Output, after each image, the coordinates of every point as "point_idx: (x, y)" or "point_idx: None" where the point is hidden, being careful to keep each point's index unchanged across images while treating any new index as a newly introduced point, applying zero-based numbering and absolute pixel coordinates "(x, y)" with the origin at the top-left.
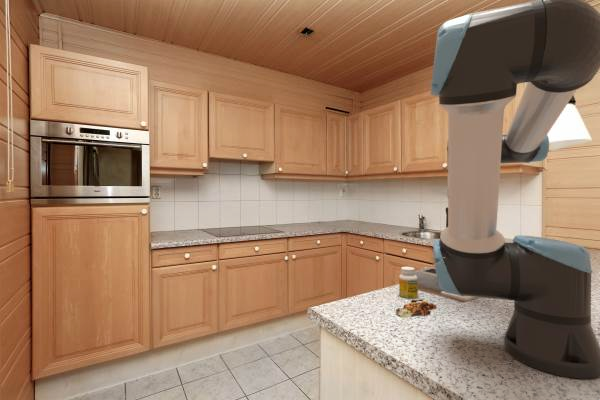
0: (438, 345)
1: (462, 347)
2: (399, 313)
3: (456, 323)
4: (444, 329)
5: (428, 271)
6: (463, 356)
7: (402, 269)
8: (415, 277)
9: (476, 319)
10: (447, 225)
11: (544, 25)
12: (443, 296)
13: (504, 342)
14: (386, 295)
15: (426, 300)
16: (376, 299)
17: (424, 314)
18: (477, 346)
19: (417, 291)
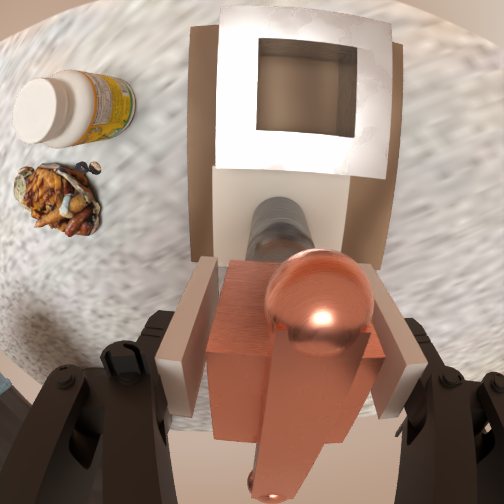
0: (15, 304)
1: (38, 329)
2: (14, 191)
3: (84, 292)
4: (48, 288)
5: (312, 44)
6: (28, 335)
7: (15, 107)
8: (58, 146)
9: (138, 313)
10: (7, 490)
11: None
12: (194, 187)
13: (86, 372)
14: (85, 47)
15: (66, 214)
16: (42, 67)
17: (53, 227)
18: (57, 342)
19: (105, 136)
